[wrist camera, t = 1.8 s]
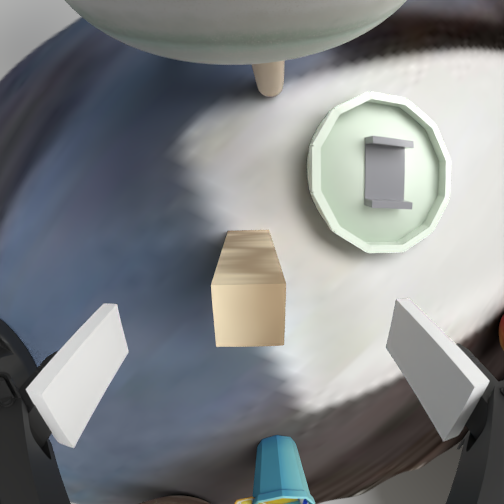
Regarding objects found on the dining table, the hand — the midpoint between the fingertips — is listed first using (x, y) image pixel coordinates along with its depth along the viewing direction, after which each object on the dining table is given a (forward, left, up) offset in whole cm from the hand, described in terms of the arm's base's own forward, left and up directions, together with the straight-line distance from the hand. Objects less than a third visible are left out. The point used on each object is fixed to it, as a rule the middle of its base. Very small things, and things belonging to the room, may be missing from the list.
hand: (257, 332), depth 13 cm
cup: (+4, -28, -14) cm, 31 cm away
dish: (+12, +7, -13) cm, 19 cm away
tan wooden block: (0, 0, -13) cm, 13 cm away
